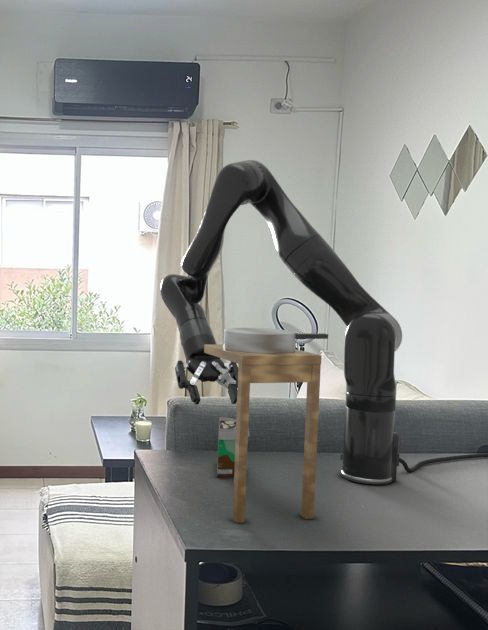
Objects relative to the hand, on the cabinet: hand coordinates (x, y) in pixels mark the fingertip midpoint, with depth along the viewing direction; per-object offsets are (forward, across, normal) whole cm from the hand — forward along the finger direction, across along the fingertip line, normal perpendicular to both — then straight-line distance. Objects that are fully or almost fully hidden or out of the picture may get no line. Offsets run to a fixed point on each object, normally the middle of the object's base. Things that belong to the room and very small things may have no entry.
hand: (216, 402), depth 160 cm
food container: (+16, 0, +2) cm, 16 cm away
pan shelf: (+30, -2, -12) cm, 32 cm away
